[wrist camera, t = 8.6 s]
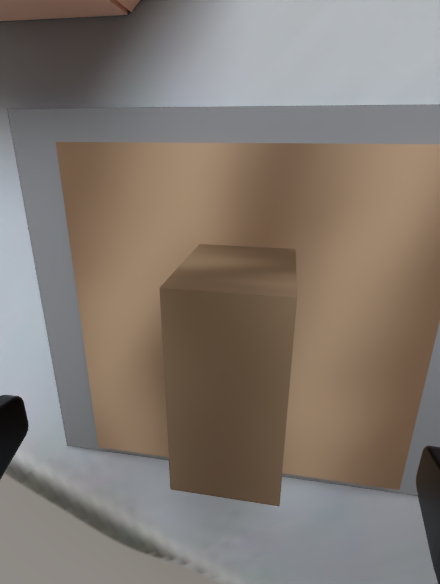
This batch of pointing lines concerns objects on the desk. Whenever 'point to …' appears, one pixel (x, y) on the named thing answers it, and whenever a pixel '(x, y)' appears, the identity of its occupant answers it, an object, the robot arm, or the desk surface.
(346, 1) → the desk surface
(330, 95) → the desk surface
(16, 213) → the desk surface
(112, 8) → the bowl
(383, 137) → the mat
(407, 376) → the cover
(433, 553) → the robot arm
